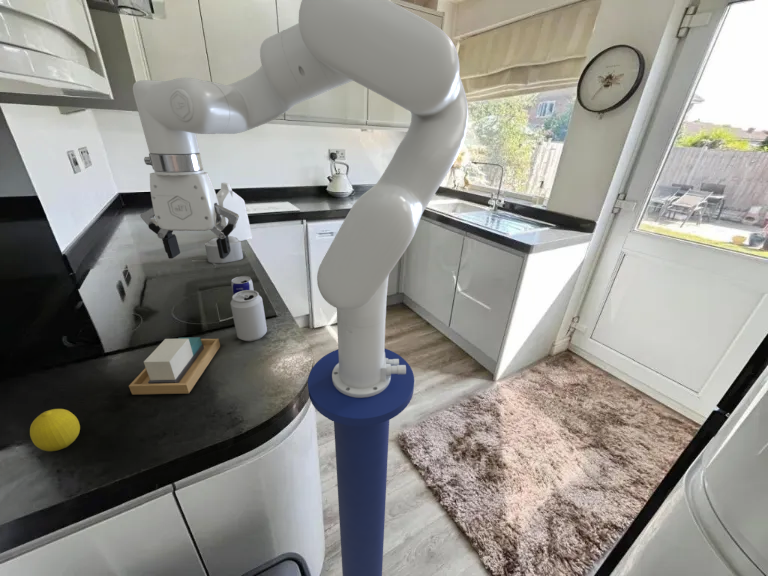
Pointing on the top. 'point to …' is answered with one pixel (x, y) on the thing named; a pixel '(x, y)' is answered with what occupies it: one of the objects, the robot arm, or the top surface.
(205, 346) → the wooden tray
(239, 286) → the energy drink
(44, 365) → the top surface
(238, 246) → the lumpy-topped squat cylinder
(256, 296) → the can
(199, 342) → the sneaker
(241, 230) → the milk
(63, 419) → the lemon
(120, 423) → the top surface
